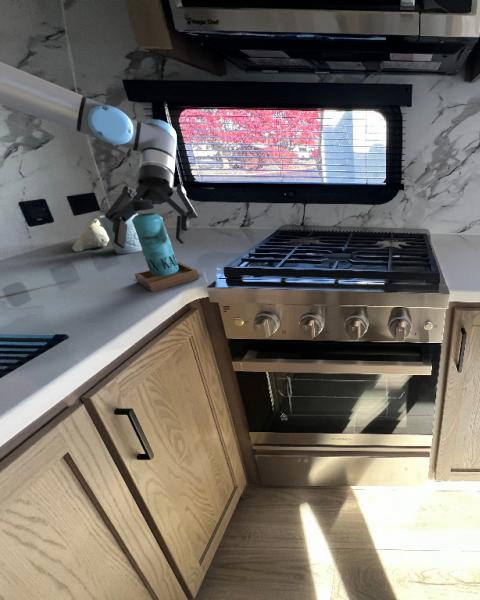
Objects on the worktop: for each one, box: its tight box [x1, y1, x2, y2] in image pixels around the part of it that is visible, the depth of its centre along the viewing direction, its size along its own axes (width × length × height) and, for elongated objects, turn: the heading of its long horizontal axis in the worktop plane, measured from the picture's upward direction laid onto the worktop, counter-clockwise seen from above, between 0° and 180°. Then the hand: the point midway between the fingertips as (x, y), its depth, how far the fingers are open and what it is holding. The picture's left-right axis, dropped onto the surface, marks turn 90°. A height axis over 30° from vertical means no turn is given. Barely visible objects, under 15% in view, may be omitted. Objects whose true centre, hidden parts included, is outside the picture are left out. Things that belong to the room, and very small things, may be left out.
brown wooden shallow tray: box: [134, 262, 200, 293], centre depth 88 cm, size 11×11×2 cm
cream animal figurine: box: [71, 218, 110, 253], centre depth 118 cm, size 15×7×15 cm
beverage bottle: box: [132, 199, 179, 276], centre depth 84 cm, size 6×7×20 cm
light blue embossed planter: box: [99, 212, 143, 255], centre depth 112 cm, size 10×10×12 cm
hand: (150, 243), depth 82 cm, fingers open, 13 cm apart
